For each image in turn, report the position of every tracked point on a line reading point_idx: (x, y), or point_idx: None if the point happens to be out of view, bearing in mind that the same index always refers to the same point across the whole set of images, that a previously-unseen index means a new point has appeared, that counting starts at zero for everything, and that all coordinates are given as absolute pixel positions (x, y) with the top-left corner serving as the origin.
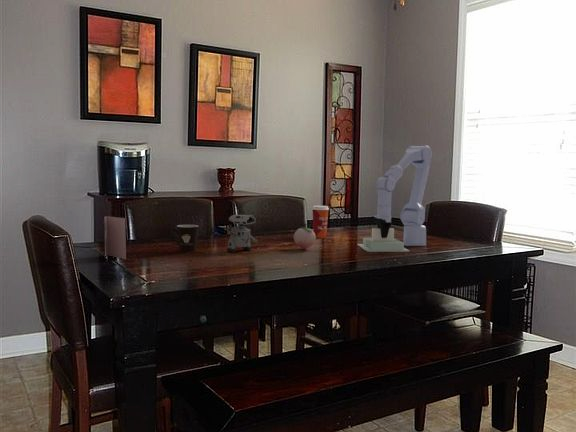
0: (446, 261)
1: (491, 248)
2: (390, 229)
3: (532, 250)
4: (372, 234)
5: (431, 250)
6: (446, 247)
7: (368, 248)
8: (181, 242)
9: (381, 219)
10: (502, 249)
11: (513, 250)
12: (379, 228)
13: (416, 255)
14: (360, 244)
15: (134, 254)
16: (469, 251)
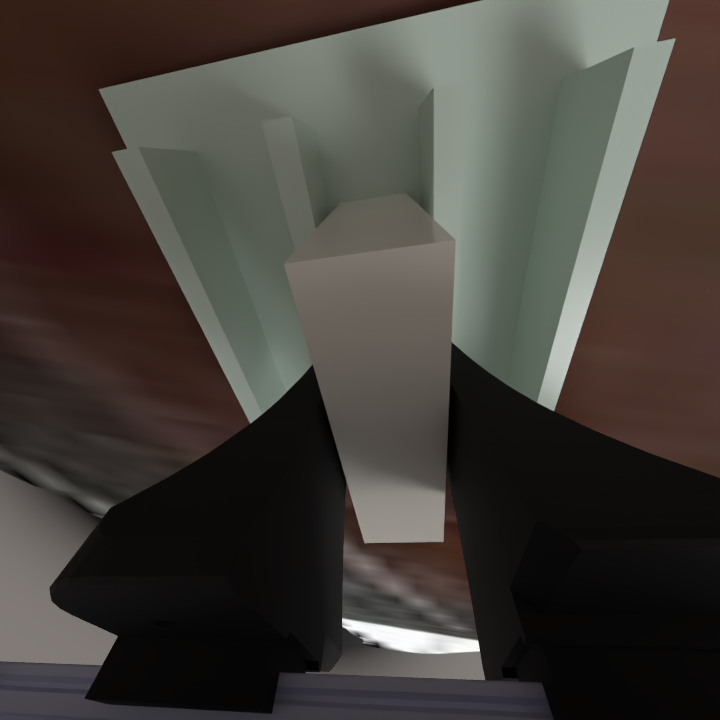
0: (79, 506)
1: (419, 621)
2: (356, 509)
3: (392, 649)
4: (377, 221)
5: (348, 518)
6: (437, 564)
7: (259, 131)
8: None
9: (551, 700)
10: (402, 628)
11: (387, 635)
12: (397, 403)
13: (163, 447)
14: (607, 21)
15: None
16: (350, 585)
